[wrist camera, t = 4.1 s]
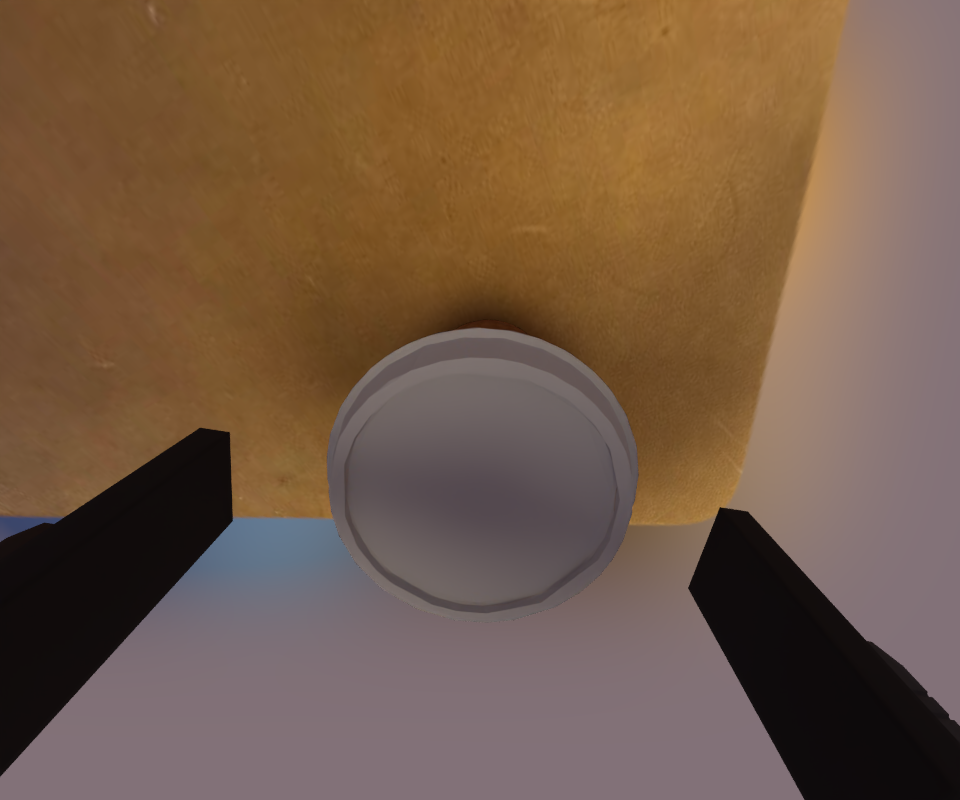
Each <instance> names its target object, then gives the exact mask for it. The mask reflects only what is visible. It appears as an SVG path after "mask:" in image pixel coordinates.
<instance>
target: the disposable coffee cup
mask: <svg viewBox="0 0 960 800" xmlns="http://www.w3.org/2000/svg"><path fill="white" fill-rule="evenodd" d="M327 473H328V483H329V498H330V505H331V512H332V515H333V518H334V521H335V525H336V528H337V531H338V534H339V537H340V538H341V540H342V541H343V543H344V545H345V546H346V548H347V550H348V551H349V553H350V555H351V556H352V558H353V559H354V561H355V563H356V564H357V565H358V566H359V567H360V568H361V569H362V570H363V571H364V572H365V573H366V574H367V575H368V576H369V577H370V578H371V579H372V580H373V581H374V582H375V583H376V584H377V585H378V586H380V588H381V589H383V590H385V591H386V592H388V593H390V594H391V595H393V596H395V597H397V598H398V599H400V600H402V601H404V602H405V603H407V604H409V605H410V606H412V607H414V608H416V609H419V610H422V611H425V612H429V613H432V614H436V615H439V616H442V617H446V618H449V619H453V620H459V621H473V622H497V621H508V620H515V619H519V618H522V617H525V616H529V615H532V614H535V613H538V612H542V611H544V610H548V609H551V608H554V607H556V606H558V605H560V604H562V603H563V602H565V601H567V600H568V599H570V598H572V597H573V596H575V595H577V594H579V593H580V592H581V591H582V590H584V589H585V588H586V587H587V586H588V585H589V584H590V583H591V582H593V581H594V580H595V579H596V578H597V577H598V576H600V574H601V573H602V572H603V571H604V569H605V568H606V567H607V566H608V564H609V563H610V562H611V561H612V559H613V558H614V556H615V554H616V552H617V551H618V549H619V547H620V545H621V543H622V541H623V539H624V536H625V533H626V530H627V527H628V524H629V521H630V518H631V515H632V506H633V504H634V501H635V494H636V488H637V481H638V460H637V446H636V443H635V440H634V437H633V434H632V431H631V428H630V425H629V422H628V419H627V416H626V414H625V412H624V411H623V409H622V407H621V406H620V404H619V402H618V401H617V399H616V398H615V396H614V394H613V393H612V391H611V390H610V388H609V387H608V386H607V385H606V384H605V383H604V382H603V380H602V379H601V378H600V377H599V376H598V375H597V374H596V373H595V372H594V371H593V370H591V369H590V368H589V367H588V366H586V365H585V364H584V363H582V362H581V361H580V360H579V359H577V358H576V357H575V356H573V355H572V354H570V353H569V352H567V351H565V350H563V349H561V348H559V347H557V346H555V345H553V344H551V343H548V342H546V341H544V340H542V339H540V338H536V337H533V336H529V335H528V334H527V333H525V332H524V331H523V330H521V329H520V328H518V327H516V326H514V325H511V324H509V323H506V322H502V321H498V320H480V321H474V322H470V323H467V324H464V325H462V326H460V327H458V328H457V329H455V330H453V331H447V332H440V333H436V334H433V335H430V336H427V337H424V338H422V339H419V340H416V341H414V342H411V343H409V344H407V345H405V346H403V347H401V348H400V349H398V350H396V351H394V352H392V353H391V354H389V355H388V356H386V357H385V358H383V359H382V360H381V361H379V362H378V363H377V364H375V365H374V366H373V367H372V368H371V369H370V370H369V371H368V372H367V373H366V374H365V375H364V376H363V377H362V378H361V379H360V381H359V382H358V383H357V384H356V385H355V386H354V387H353V389H352V390H351V392H350V393H349V395H348V396H347V398H346V399H345V401H344V403H343V404H342V406H341V407H340V410H339V413H338V415H337V418H336V421H335V423H334V426H333V429H332V431H331V434H330V440H329V446H328V453H327Z"/></svg>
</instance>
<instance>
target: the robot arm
mask: <svg viewBox="0 0 960 800" xmlns="http://www.w3.org/2000/svg"><path fill="white" fill-rule="evenodd" d="M232 521H233V514H232V485H231V456H230V432H224V431H218V430H211V429H205V428H199V429H198V430H196V431H195V432H193V433H192V434H190V435H189V436H187V437H185V438H184V439H182V440H181V441H179V442H178V443H176V444H175V445H173V446H172V447H170V448H169V449H167V450H166V451H164V452H163V453H161V454H160V455H158V456H157V457H155V458H154V459H152V460H151V461H149V462H148V463H146V464H145V465H143V466H142V467H140V468H139V469H137V470H135V471H134V472H132V473H131V474H129V475H128V476H126V477H125V478H123V479H122V480H120V481H119V482H117V483H116V484H114V485H113V486H111V487H110V488H108V489H107V490H105V491H104V492H102V493H101V494H99V495H98V496H96V497H95V498H93V499H92V500H90V501H89V502H87V503H85V504H84V505H82V506H81V507H79V508H78V509H76V510H75V511H73V512H72V513H70V514H69V515H67V516H66V517H64V518H63V519H61V520H60V521H58V522H57V523H55V524H50V523H42V524H40V525H38V526H35V527H33V528H30V529H28V530H25V531H23V532H20V533H18V534H15V535H13V536H10V537H8V538H6V539H4V540H3V541H1V542H0V776H1V775H2V774H3V773H4V772H5V771H6V770H7V769H8V768H9V766H10V765H11V764H12V763H13V762H14V761H15V760H16V759H17V758H18V756H19V755H20V754H21V753H22V752H23V751H24V750H25V749H26V748H27V747H28V746H29V744H30V743H31V742H32V741H33V740H34V739H35V738H36V737H37V736H38V735H39V733H40V732H41V731H42V730H43V729H44V728H45V727H46V726H47V725H48V723H49V722H50V721H51V720H52V719H53V718H54V717H55V716H56V715H57V714H58V713H59V711H60V710H61V709H62V708H63V707H64V706H65V705H66V704H67V703H68V702H69V700H70V699H71V698H72V697H73V696H74V695H75V694H76V693H77V692H78V690H79V689H80V688H81V687H82V686H83V685H84V684H85V683H86V681H88V680H89V678H90V677H91V676H92V675H93V674H94V673H95V672H96V671H97V669H98V668H99V667H100V666H101V665H102V664H103V663H104V662H105V661H106V660H107V659H108V657H109V656H110V655H111V654H112V653H113V652H114V651H115V650H116V649H117V648H118V646H119V645H120V644H121V643H122V642H123V641H124V640H125V639H126V638H127V637H128V635H129V634H130V633H131V632H132V631H133V630H134V629H135V628H136V627H137V625H139V623H140V622H141V621H142V620H143V619H144V618H145V617H146V616H147V615H148V614H149V612H150V611H151V610H152V609H153V608H154V607H155V606H156V605H157V604H158V603H159V601H160V600H161V599H162V598H163V597H164V596H165V595H166V594H167V593H168V592H169V590H170V589H171V588H172V587H173V586H174V585H175V584H176V583H177V582H178V581H179V579H180V578H181V577H182V576H183V575H184V574H185V573H186V572H187V571H188V570H189V568H190V567H191V566H192V565H193V564H194V563H195V562H196V561H197V560H198V559H199V557H200V556H201V555H202V554H203V553H204V552H205V551H206V550H207V549H208V548H209V547H210V545H211V544H212V543H213V542H214V541H215V540H216V539H217V538H218V537H219V535H220V534H221V533H222V532H223V531H224V530H225V529H226V528H227V527H228V525H229V524H230V523H231V522H232ZM688 589H689V590H690V592H691V594H692V596H693V598H694V600H695V602H696V603H697V605H698V607H699V609H700V611H701V612H702V614H703V616H704V618H705V620H706V621H707V623H708V625H709V627H710V629H711V631H712V632H713V634H714V636H715V638H716V640H717V642H718V643H719V645H720V647H721V649H722V651H723V652H724V654H725V656H726V657H727V660H728V662H729V663H730V665H731V667H732V669H733V671H734V672H735V674H736V676H737V678H738V679H739V681H740V683H741V685H742V687H743V689H744V691H745V692H746V694H747V696H748V698H749V700H750V702H751V703H752V705H753V707H754V709H755V711H756V712H757V714H758V716H759V718H760V720H761V722H762V723H763V725H764V727H765V729H766V731H767V732H768V734H769V736H770V738H771V740H772V742H773V743H774V745H775V747H776V749H777V750H778V752H779V754H780V756H781V758H782V760H783V762H784V763H785V765H786V767H787V769H788V771H789V772H790V774H791V776H792V778H793V780H794V781H795V783H796V785H797V787H798V789H799V791H800V792H801V794H802V796H803V798H804V800H960V726H959V725H958V724H957V723H956V722H955V721H954V720H950V718H949V714H948V713H947V712H946V711H945V710H944V709H943V708H942V707H941V706H940V705H939V704H938V703H937V701H936V700H934V698H932V697H929V696H928V695H927V691H926V690H925V689H924V688H923V687H922V686H921V685H920V684H919V682H918V681H917V680H916V679H915V678H914V677H913V676H912V675H911V674H910V673H909V672H908V671H907V670H906V669H905V668H904V667H903V666H902V665H901V664H900V663H898V662H897V661H896V660H894V659H893V658H892V657H890V656H889V655H888V654H887V653H885V652H884V651H883V650H882V649H880V648H879V647H878V646H876V645H875V644H874V643H872V642H869V641H866V640H865V639H864V638H863V637H862V636H861V635H860V633H859V632H858V631H857V630H856V629H855V628H854V627H853V626H852V625H851V624H850V623H849V621H848V620H847V619H846V618H845V617H844V616H843V615H842V614H841V613H840V612H839V611H838V609H837V608H836V607H835V606H834V605H833V604H832V603H831V602H830V601H829V600H828V599H827V597H826V596H825V595H824V594H823V593H822V592H821V591H820V590H819V589H818V588H817V587H816V586H815V585H814V583H813V582H812V581H811V580H810V579H809V578H808V577H807V576H806V575H805V574H804V572H803V571H802V570H801V569H800V568H799V567H798V566H797V565H796V564H795V563H794V561H793V560H792V559H791V558H790V557H789V556H788V555H787V554H786V553H785V552H784V551H783V550H782V548H780V546H779V545H778V544H777V543H776V542H775V541H774V540H773V539H772V537H771V536H769V534H768V533H767V532H766V531H765V530H764V529H763V528H762V527H761V525H760V524H759V523H758V522H757V521H756V520H755V519H754V518H753V517H752V516H751V515H750V514H749V512H746V511H741V510H734V509H727V508H721V507H720V509H719V511H718V514H717V516H716V519H715V522H714V524H713V527H712V529H711V532H710V534H709V537H708V539H707V542H706V544H705V547H704V549H703V552H702V554H701V557H700V560H699V562H698V565H697V567H696V570H695V572H694V575H693V577H692V580H691V582H690V585H689V587H688Z"/></svg>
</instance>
